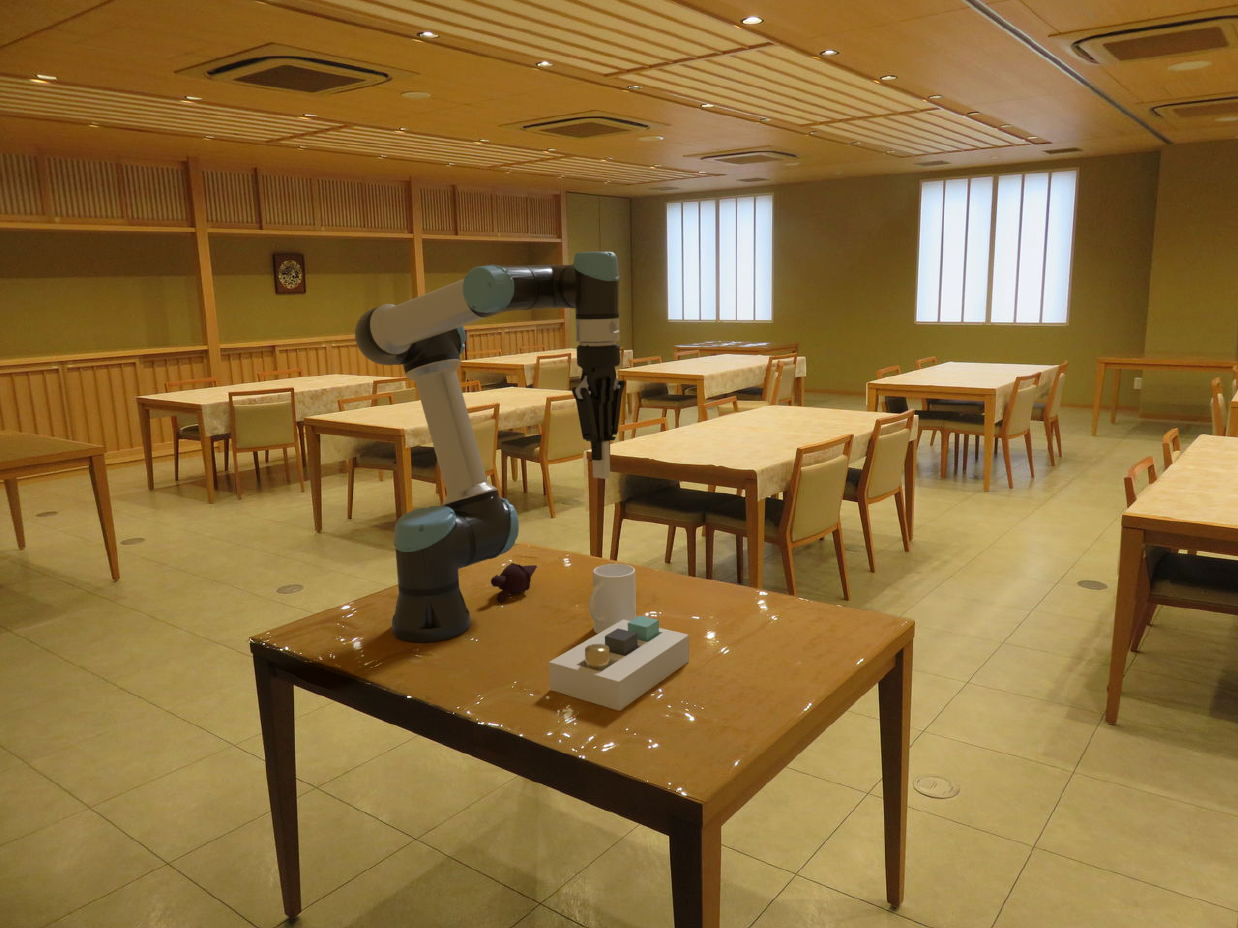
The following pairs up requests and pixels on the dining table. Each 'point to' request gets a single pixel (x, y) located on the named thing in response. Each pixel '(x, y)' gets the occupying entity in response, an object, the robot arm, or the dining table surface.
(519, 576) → the dark purple knobbly piece
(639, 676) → the white slotted tray
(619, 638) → the dark grey cube
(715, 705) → the dining table surface
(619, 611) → the mug
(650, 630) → the teal cube
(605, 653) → the gold metal cylinder
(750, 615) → the dining table surface
